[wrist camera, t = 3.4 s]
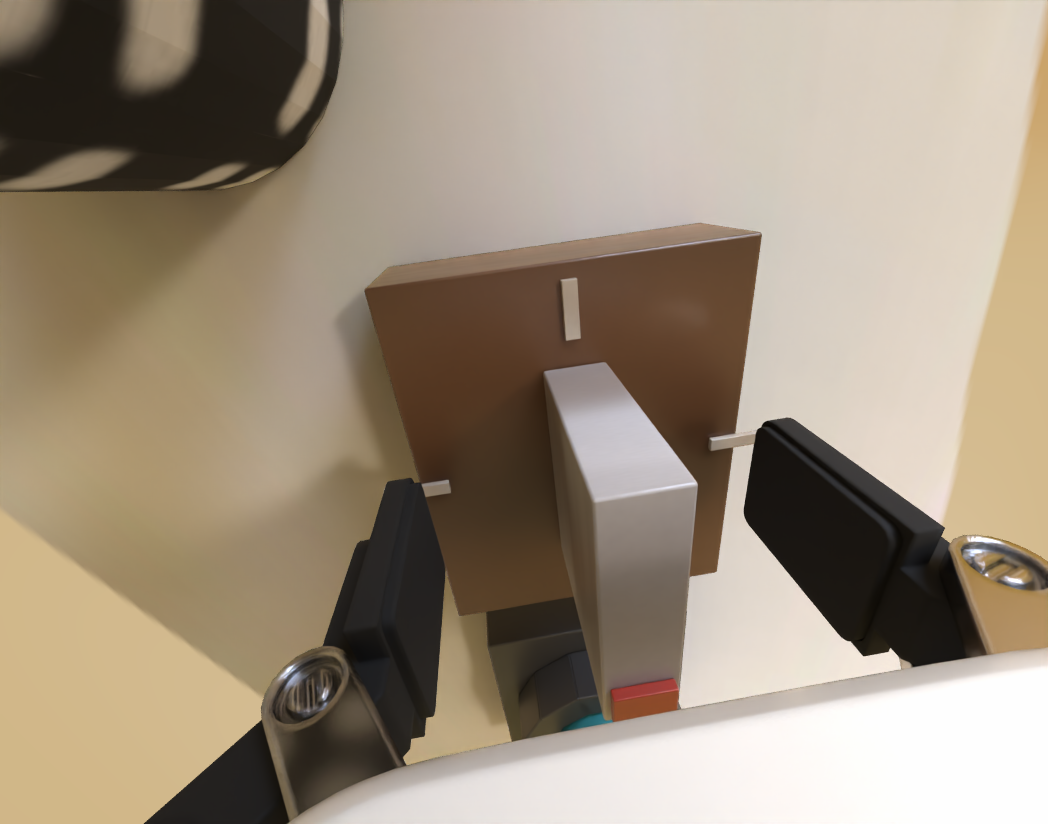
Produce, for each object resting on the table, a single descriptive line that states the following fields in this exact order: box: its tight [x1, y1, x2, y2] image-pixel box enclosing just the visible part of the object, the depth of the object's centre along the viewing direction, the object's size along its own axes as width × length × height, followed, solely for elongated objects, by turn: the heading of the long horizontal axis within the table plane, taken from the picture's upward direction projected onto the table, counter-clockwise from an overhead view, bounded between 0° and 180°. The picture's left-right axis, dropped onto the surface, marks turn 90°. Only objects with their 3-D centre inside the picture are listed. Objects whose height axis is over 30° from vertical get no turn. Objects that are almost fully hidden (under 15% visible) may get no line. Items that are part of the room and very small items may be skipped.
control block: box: [486, 597, 687, 742], centre depth 19 cm, size 9×8×4 cm
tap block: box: [365, 223, 762, 616], centre depth 13 cm, size 11×10×3 cm
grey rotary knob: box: [543, 362, 698, 722], centre depth 10 cm, size 6×2×5 cm, turn 7°
